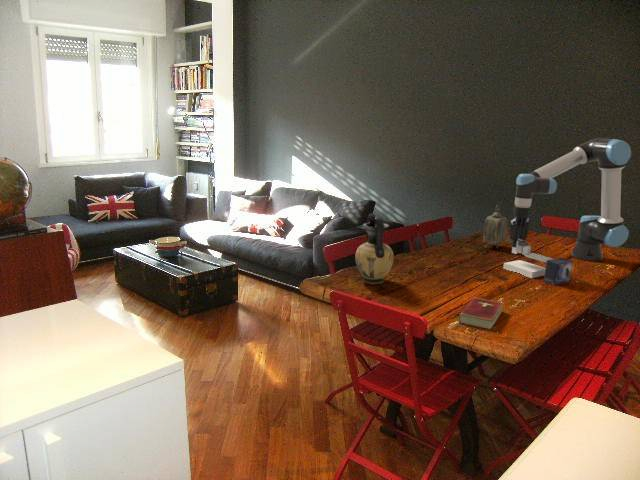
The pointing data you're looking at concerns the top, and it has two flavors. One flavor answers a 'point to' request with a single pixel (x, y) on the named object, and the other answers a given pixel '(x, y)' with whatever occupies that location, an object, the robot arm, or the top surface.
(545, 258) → the dark gray bar
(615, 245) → the robot arm
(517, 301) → the top surface
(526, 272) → the board
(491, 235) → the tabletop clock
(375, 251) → the amphora
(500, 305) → the hardcover book
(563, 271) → the small box
